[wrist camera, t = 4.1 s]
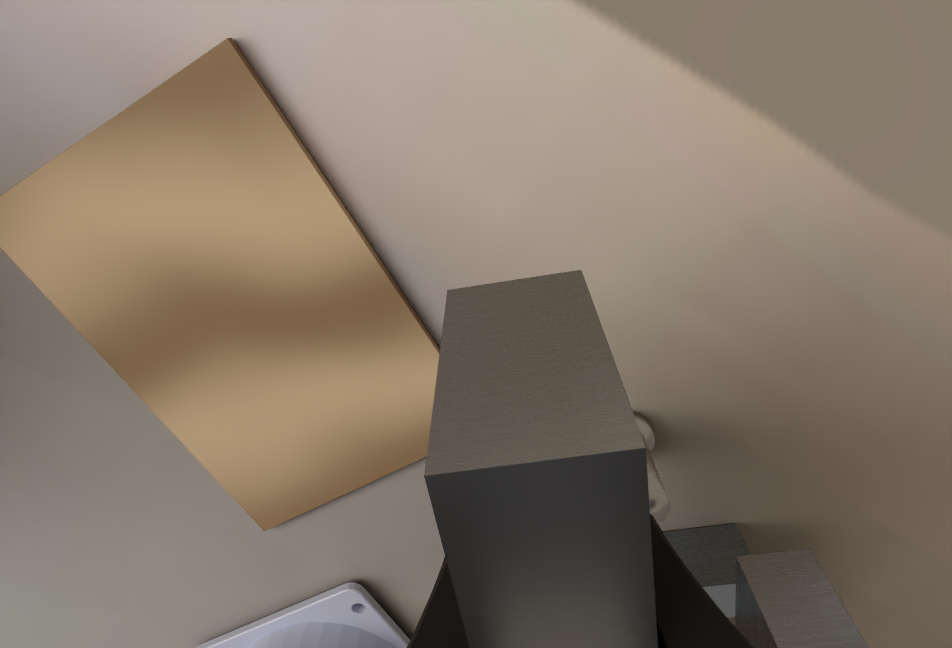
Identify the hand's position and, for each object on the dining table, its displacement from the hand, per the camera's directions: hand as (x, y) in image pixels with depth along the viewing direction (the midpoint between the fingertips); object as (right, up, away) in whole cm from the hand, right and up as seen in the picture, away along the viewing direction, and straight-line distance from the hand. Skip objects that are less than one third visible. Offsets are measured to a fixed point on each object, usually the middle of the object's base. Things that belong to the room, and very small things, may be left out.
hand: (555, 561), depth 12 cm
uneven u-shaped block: (+2, +1, +2) cm, 3 cm away
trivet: (-8, +5, +7) cm, 12 cm away
